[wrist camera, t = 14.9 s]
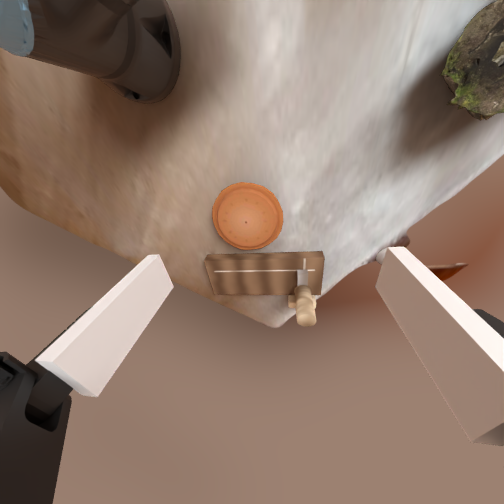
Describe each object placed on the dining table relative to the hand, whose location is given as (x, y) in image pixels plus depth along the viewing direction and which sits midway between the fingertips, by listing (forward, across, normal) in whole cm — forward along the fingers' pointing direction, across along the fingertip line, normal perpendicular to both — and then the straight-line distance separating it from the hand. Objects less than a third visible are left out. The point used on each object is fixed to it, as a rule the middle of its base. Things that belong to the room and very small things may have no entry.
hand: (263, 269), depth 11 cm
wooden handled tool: (+31, +6, -28) cm, 42 cm away
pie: (+32, -6, -8) cm, 34 cm away
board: (+32, -4, -25) cm, 41 cm away
